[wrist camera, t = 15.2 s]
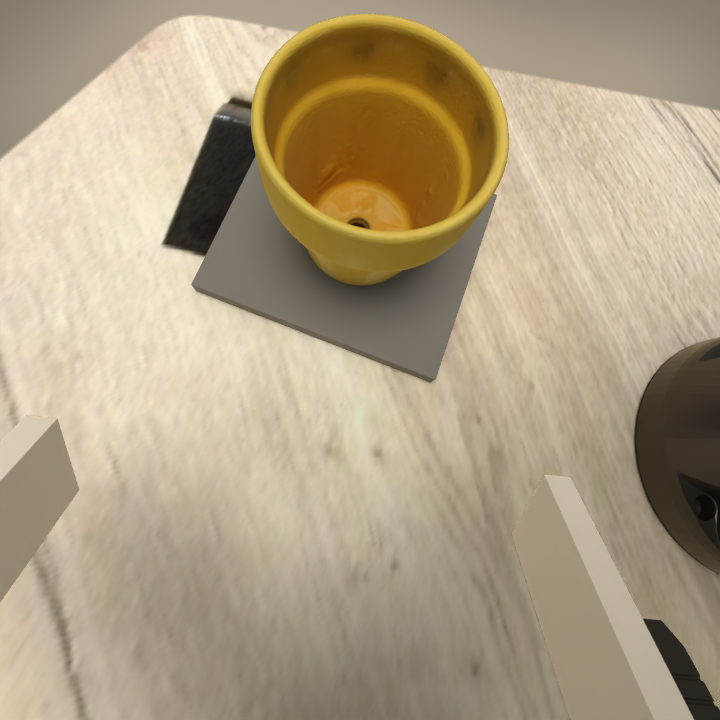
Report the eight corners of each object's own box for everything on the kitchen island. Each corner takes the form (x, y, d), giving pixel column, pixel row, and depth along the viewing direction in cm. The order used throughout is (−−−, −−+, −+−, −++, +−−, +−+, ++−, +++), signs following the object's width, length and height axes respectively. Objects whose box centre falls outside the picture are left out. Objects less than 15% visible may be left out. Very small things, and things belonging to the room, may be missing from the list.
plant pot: (295, 336, 25) (285, 265, 15) (254, 177, 27) (223, 24, 17) (462, 297, 26) (547, 211, 17) (413, 149, 28) (466, -4, 19)
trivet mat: (490, 203, 29) (496, 195, 28) (430, 382, 26) (435, 379, 25) (281, 118, 29) (280, 106, 28) (196, 290, 26) (191, 284, 25)
